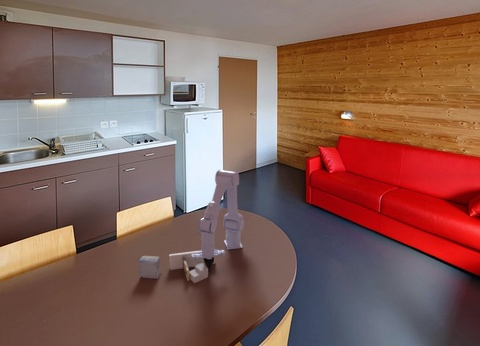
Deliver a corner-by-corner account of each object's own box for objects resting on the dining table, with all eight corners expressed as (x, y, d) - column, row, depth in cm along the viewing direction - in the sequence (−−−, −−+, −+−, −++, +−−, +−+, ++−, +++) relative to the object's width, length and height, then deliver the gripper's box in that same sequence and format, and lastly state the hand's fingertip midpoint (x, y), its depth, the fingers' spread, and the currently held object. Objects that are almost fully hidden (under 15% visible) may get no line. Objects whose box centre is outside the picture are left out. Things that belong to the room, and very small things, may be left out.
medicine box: (161, 273, 138) (160, 256, 135) (157, 279, 133) (156, 261, 131) (144, 272, 138) (142, 255, 136) (140, 278, 134) (138, 260, 132)
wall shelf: (169, 267, 142) (169, 254, 140) (214, 261, 147) (214, 248, 145) (170, 271, 139) (169, 257, 137) (215, 265, 144) (215, 251, 142)
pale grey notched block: (188, 277, 135) (188, 268, 133) (201, 271, 139) (201, 263, 138) (194, 283, 131) (194, 274, 130) (208, 276, 135) (208, 268, 134)
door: (182, 270, 140) (182, 260, 138) (186, 269, 140) (185, 260, 139) (185, 281, 132) (185, 271, 131) (189, 280, 133) (189, 270, 131)
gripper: (192, 250, 128) (193, 278, 132) (226, 246, 132) (226, 273, 136) (190, 242, 135) (191, 269, 139) (222, 238, 139) (222, 265, 142)
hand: (208, 271), depth 138 cm, fingers closed
